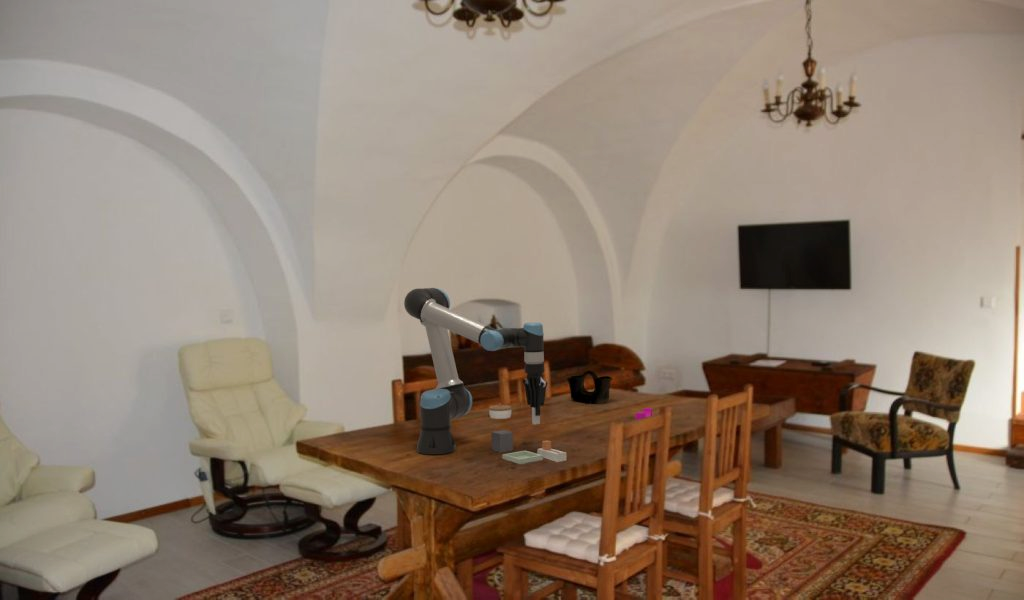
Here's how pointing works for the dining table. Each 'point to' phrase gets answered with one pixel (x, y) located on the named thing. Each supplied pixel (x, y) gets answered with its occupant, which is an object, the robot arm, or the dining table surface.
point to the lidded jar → (500, 411)
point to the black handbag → (586, 397)
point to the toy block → (644, 413)
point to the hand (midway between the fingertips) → (536, 423)
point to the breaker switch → (546, 445)
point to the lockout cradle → (522, 457)
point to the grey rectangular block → (502, 441)
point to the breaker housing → (552, 454)
